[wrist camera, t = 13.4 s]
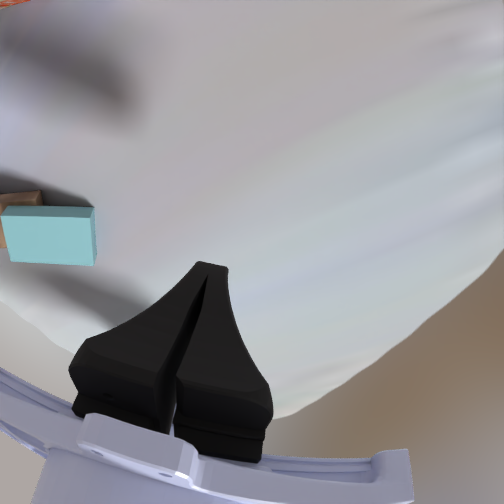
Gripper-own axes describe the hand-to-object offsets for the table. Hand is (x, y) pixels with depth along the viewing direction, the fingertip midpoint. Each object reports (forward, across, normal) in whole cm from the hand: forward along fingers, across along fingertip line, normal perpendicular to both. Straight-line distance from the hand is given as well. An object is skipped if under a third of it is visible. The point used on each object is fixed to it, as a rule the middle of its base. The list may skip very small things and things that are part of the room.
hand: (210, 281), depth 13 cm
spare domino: (+10, +12, +6) cm, 17 cm away
